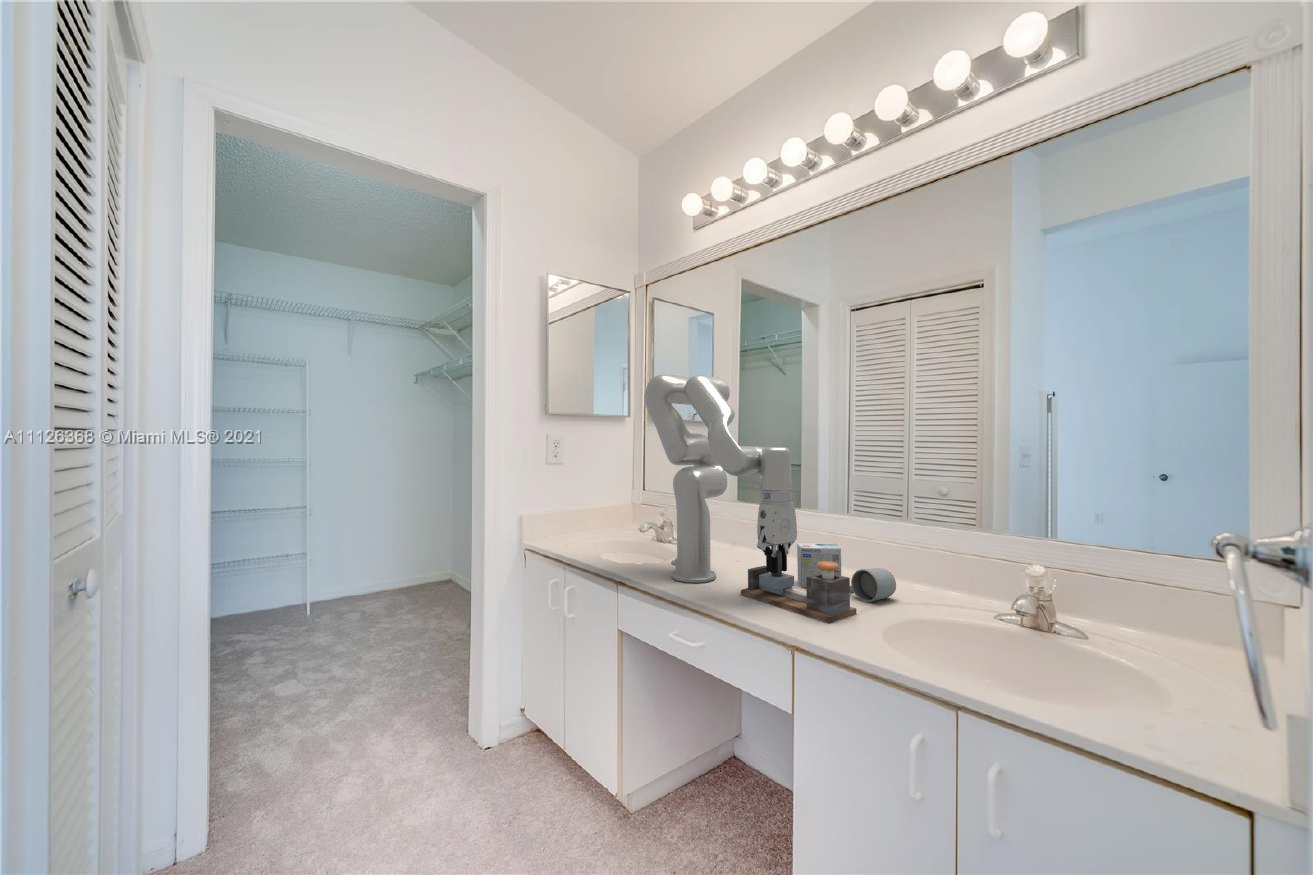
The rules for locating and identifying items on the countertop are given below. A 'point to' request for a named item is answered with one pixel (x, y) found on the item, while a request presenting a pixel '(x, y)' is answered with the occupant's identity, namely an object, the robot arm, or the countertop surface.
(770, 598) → the rail board
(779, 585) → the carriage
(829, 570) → the button
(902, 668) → the countertop surface
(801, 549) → the light bulb box
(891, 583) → the ceramic mug
